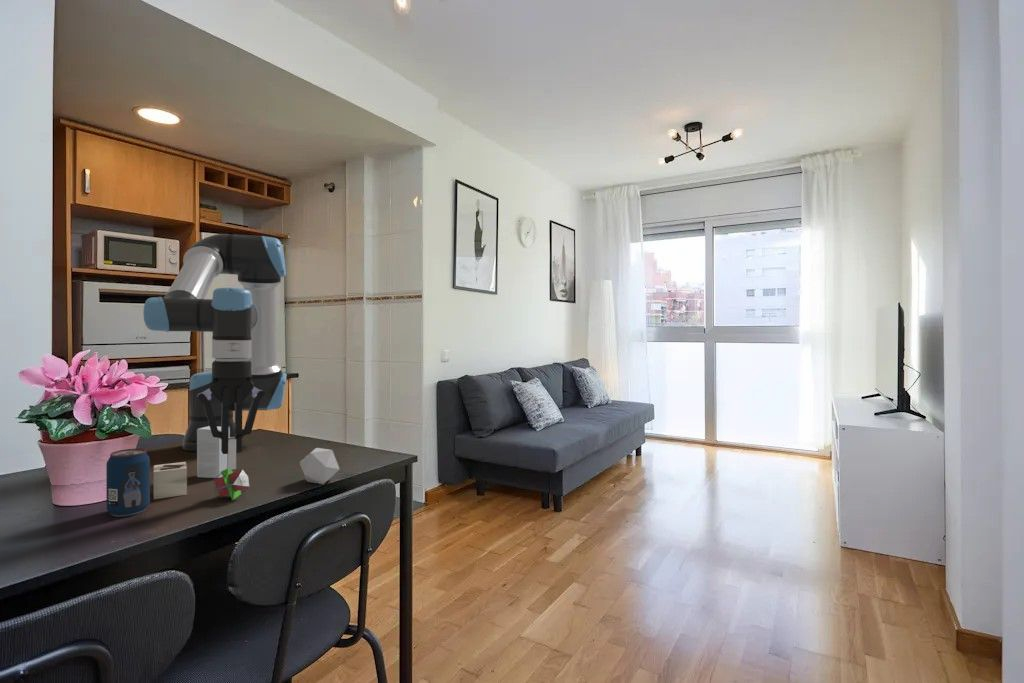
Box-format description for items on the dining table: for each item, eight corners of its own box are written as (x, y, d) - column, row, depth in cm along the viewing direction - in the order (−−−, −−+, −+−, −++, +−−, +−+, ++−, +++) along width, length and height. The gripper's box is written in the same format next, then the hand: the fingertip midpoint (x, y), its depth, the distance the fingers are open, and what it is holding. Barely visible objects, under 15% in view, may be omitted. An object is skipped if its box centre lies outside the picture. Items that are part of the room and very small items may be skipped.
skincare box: (230, 473, 128) (230, 426, 128) (219, 478, 124) (219, 429, 124) (208, 472, 129) (208, 425, 129) (195, 477, 125) (196, 428, 124)
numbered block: (154, 492, 114) (153, 464, 114) (185, 487, 117) (185, 460, 117) (153, 499, 109) (153, 471, 109) (186, 495, 112) (186, 467, 112)
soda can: (129, 504, 106) (129, 446, 106) (158, 506, 105) (158, 448, 104) (97, 516, 99) (96, 455, 99) (127, 519, 98) (127, 457, 98)
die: (346, 482, 125) (338, 446, 130) (332, 473, 118) (325, 436, 122) (314, 494, 125) (307, 458, 129) (298, 487, 117) (292, 448, 122)
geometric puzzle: (198, 492, 108) (221, 463, 108) (215, 482, 114) (237, 455, 114) (225, 512, 108) (248, 483, 108) (241, 501, 115) (262, 474, 115)
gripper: (197, 361, 104) (197, 476, 104) (267, 360, 111) (267, 467, 111) (195, 359, 110) (195, 468, 110) (262, 358, 117) (261, 460, 118)
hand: (231, 467), depth 111 cm, fingers closed
